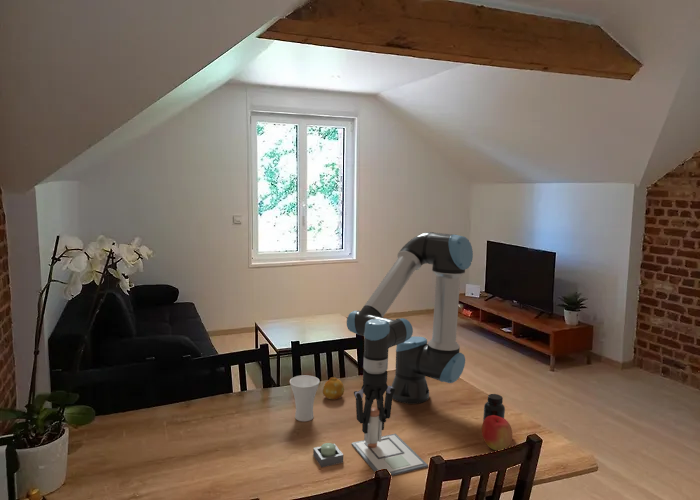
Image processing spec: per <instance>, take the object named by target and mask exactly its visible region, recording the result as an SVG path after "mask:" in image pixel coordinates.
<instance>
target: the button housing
mask: <svg viewBox="0 0 700 500" xmlns="http://www.w3.org/2000/svg"><path fill="white" fill-rule="evenodd" d="M333 444H334V445H335V446H336V452H335V455H332V456H328V457H323V456H322V455H321V446H316V447H313V449H312V450H313V451H312V452H313V453H312V454H313V455H312V456H313V457H314V459H315V461H316V462H317V463H318V465H319V467H320V468H325V467H330V466H334V465H339V464H343V463H344V453H343V452H342V451H341V450H340V449H339V447H338V446H337V444H335V443H333Z"/></svg>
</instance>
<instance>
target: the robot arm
mask: <svg viewBox="0 0 700 500" xmlns="http://www.w3.org/2000/svg"><path fill="white" fill-rule="evenodd" d="M473 254H474V253H473V246H472V243H471V242H470V240H469V238H467V237H466V236H463V235H458V234H452V233H451V234H450V233H440V232H432V231H426V232H423V233H420V234H418V235H416V236H414V237H412V238H411V239H409V240H408V241H407V242H406V243H405V244H404V245H403V246H402V248H401V249H400V250H399V252H397V257H396V260H395V262H394V263H393V264H392V265H391V267H390V268H389V270H388V272H387V273H386V274H385V276H384V277H383V279H382V280H381V281H380V283H379V285H378V286H377V287H376V289H375V290H374V291H373V293H372V294H371V296H370V297H369V298H368V300H367V301H366V302H365V304H364V305H363V307H362V308H361V309H360V310H353V311H351V312H350V313H349V314H348V315H347V319H346V327H347V329H348V331H349V332H351V333H353V334H356V335H358V336H363V338H364V339H363V341H364V342H363V343H364V344H363V345H364V347H363V349H364V350H363V351H364V352H363V365H362V368H363V370H362V386H361V389H360V390H358V391H357V390H354V392H353V395H354V397H355V408H356V409H355V410H356V411H355V412H356V420H357V421H358V422H359V424H361V425H362V428H361V431H362V433H363V434H364V439H363V440H365V442H366V443H367V444H370V432H371V424H370V423H369V418H370V412H371V407H373V404H374V401H376V408H378V409H379V428H378V441H379V442H381V437H382V436H383V435H382V431H384V430H385V423H386V422H387V419H390V418H391V413H392V405H393V400H394V401H397V402H399V403H403V404H409V405H410V404H411V405H415V404H421V403H422V404H423V403H424V402H427V401H428V400H429V398H430V390H429V386H428V382H427V379H426V378H427V377H428V378H431V379H434V380H436V381H439V382H441V383H448V384H453V383H455V382H457V380H459V378H460V377H461V375H462V374H463V372H464V369H465V366H466V356H465V354H463V353H462V352H460V351H461V350H460V348H461V346H460V344H459V342H457V329H458V314H459V300H460V285H461V277H462V276H463V275H465V274H466V270H468V269H469V268H470V267H471V265H472V262H473V257H474V255H473ZM425 264H429V265H432V269H431V271H432V272H433V274H434V275H435V287H434V305H433V322H432V338H431V339H430V340H429V341H428V339H427V338H426V337H425V336H418V335H417V336H416V335H414V336H413V333H414V329H413V325H412V324H411V322H410V321H409V320H408V319H407V318H401V317H400V318H396V319H391V318H387V317H384V316H385V315H386V314H387V312H388V310H389V309H390V307H391V306H392V305H393V304H394V302H395V300H396V299H397V297H398V296H399V294H400V292H401V291H402V290H403V288H405V285H406V284H407V282H408V281H409V279H410V278H411V277H412V275H413V274H414V273H415V271H418V270H420V269H421V268H422V266H423V265H425ZM395 346H396V348H395V374H394V375H395V376H394V379H393V381H392V384H391V385H388V384H387V382H388V368H389V367H388V365H389V349H390V348H392V347H395ZM364 395H365V397H364ZM384 396H385V398H384ZM363 398H364V401H363ZM363 403H364V404H363Z"/></svg>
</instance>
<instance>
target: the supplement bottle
mask: <svg viewBox="0 0 700 500" xmlns="http://www.w3.org/2000/svg"><path fill="white" fill-rule="evenodd" d="M503 398H504V397H503V396H502V395H501V394H498V393H497V394H496V393H489V394H488V395H487V401H486V402H485V403H484V407H483V419H482V422H483V421H484V419H485V418H486V417H488V416H491V415H495V416H499V417H502V418H504V419H505V414H506V407H505V405H504V404H503V401H504V399H503Z"/></svg>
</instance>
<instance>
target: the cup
mask: <svg viewBox="0 0 700 500" xmlns="http://www.w3.org/2000/svg"><path fill="white" fill-rule="evenodd" d="M320 382H321V381H320V379H319V378H318V377H316V376H314V375H310V374H309V375H308V374H306V375H304V374H303V375H302V374H301V375H296V376H294V377H291V378H290V379H289V385H290V388H291V390H292V394H293V398H294V405H295V413H294V414H295V415H294V418H295V420H297V421H299V422H310V421H312V420H313V419H314V418H315V417H314V403H315V397H316V393H317V391H318V388H319V384H320Z"/></svg>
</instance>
